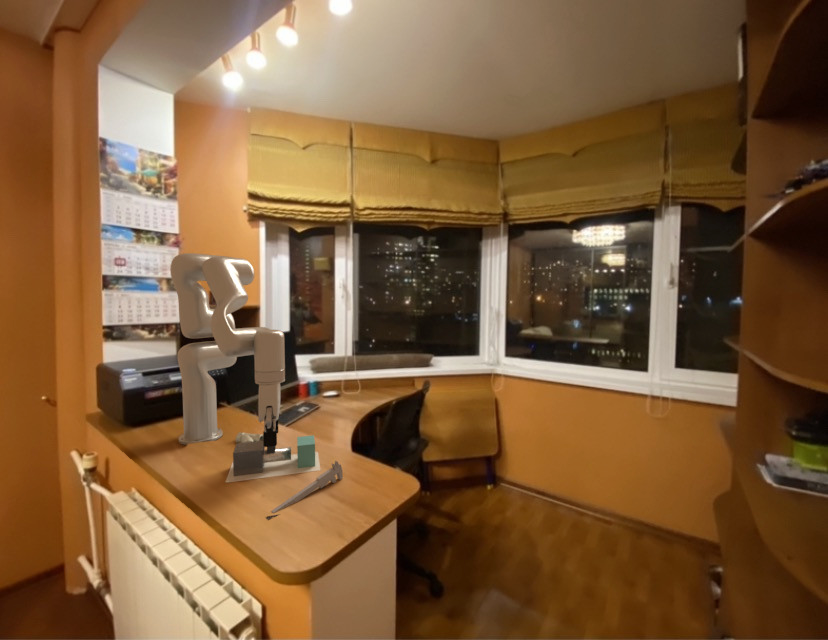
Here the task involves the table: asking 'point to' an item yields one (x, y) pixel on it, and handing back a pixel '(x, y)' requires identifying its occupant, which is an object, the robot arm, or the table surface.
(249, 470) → the dark grey block
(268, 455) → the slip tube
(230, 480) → the base board
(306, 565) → the table surface
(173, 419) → the table surface
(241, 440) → the pipe fitting
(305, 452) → the socket block
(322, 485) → the caliper
